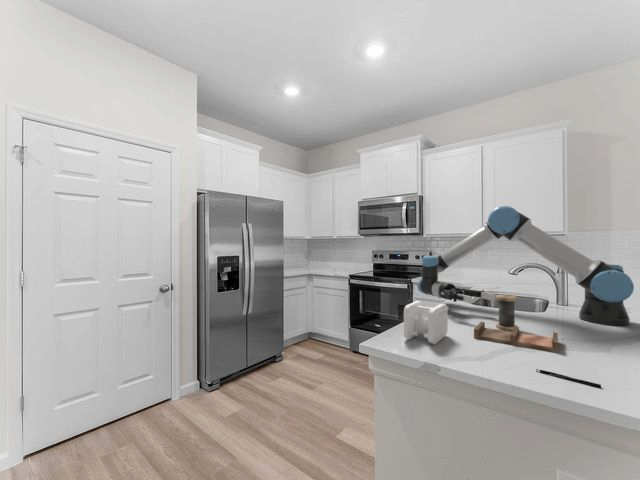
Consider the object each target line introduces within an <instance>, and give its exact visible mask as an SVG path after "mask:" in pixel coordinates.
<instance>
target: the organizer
mask: <svg viewBox="0 0 640 480" xmlns="http://www.w3.org/2000/svg"><path fill="white" fill-rule="evenodd" d="M449 308H450V307H449V306H448V305H447V304H446V303H439V304H437V305H436V306H434V307H430V306H424V303H423V301H422V300H416V301H414V302H413V301H412V302H411V303H408V304H406V305H405V306H404V309H403V337H404V339H407V340H408V341H410V340H412V339H413V338H414V337H415V338H417V336H418V335H420V334H423V335H424V336H423V337H424V339H426V338H427V339H428V343H429V344H431V345H437V344H438V343H439V342H440V341H441V340H443V339H444V338H445V337H446V336H447V334H448V330H449V329H448V311H449Z"/></svg>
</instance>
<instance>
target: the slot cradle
mask: <svg viewBox="0 0 640 480" xmlns="http://www.w3.org/2000/svg"><path fill="white" fill-rule="evenodd" d="M485 325H486V323H485V322H484V321H480V322H479V323H478V324H477V326H476V327H475V328H474V329H473V338H474V339H478V340H483V341H488V342H489V341H490V342H494V343H500V344H506V345H511V346H518V347H522V348H529V349H534V350H538V351H546V352H550V353H556V354H558V353H559V332H555V331H554V332H553V333H552V337H548V336H542V335H535V334H530V333H529V334H528V333H523V332H520V327H519V326H518V327H514V329H513V331H505V330H501V329H498V328H490V327H489V328H488V327H486V326H485Z"/></svg>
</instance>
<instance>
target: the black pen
mask: <svg viewBox="0 0 640 480" xmlns="http://www.w3.org/2000/svg"><path fill="white" fill-rule="evenodd" d="M535 372H536V373H540V374H542V375H549V376H552V377H555V378H559V379H562V380H567V381H570V382H574V383H578V384H582V385H586V386H590V387H594V388H597V389H601V388H602V384H599V383H595V382H591V381H587V380H583V379H579V378H574V377H571V376H568V375H564V374H559V373H556V372H552V371H547V370H542V369H535Z"/></svg>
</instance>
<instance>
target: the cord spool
mask: <svg viewBox="0 0 640 480" xmlns="http://www.w3.org/2000/svg"><path fill="white" fill-rule="evenodd" d="M496 301H498V322H496V323H495V329H497V330H503V331H505V330H506V331H509V332H512V331H513V329H514V327H519V326H518V325H517V324H516V323H515V322H516V321H515V302H518V301H519V300H518V296H514V295H509V294H496Z"/></svg>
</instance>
